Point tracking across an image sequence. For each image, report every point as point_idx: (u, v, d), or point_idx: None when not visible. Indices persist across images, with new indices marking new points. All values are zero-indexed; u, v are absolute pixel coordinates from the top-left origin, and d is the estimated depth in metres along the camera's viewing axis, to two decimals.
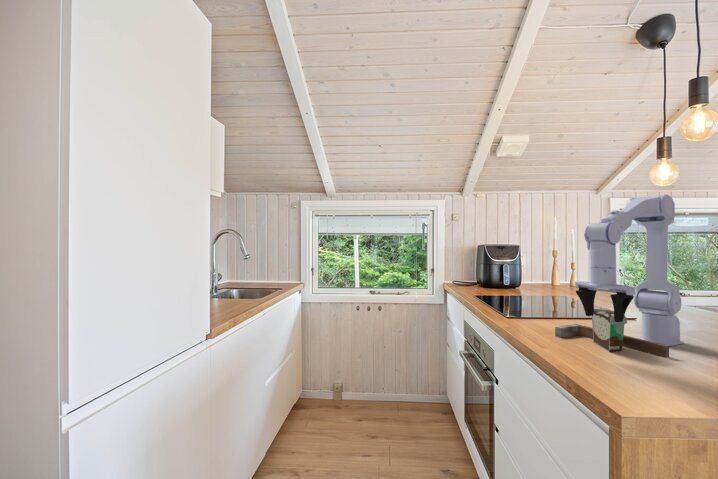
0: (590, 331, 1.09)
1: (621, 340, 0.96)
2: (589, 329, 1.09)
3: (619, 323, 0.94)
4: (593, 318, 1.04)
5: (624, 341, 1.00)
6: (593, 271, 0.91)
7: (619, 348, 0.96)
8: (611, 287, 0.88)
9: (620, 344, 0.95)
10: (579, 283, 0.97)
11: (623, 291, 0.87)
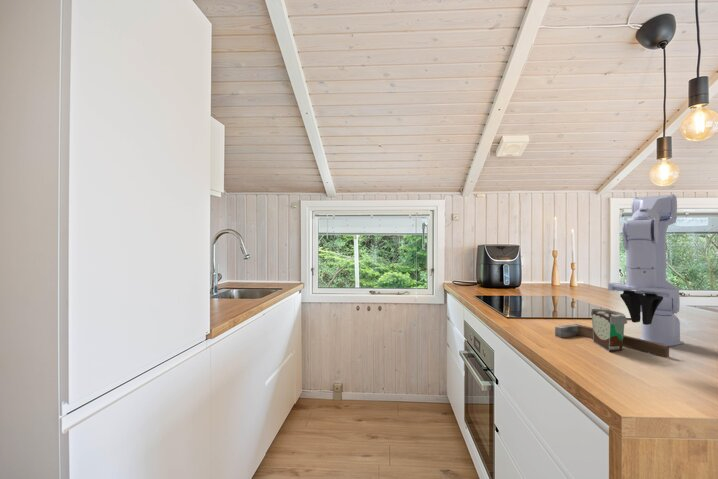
0: (590, 331, 1.09)
1: (621, 340, 0.96)
2: (589, 329, 1.09)
3: (619, 323, 0.94)
4: (593, 318, 1.04)
5: (624, 341, 1.00)
6: (630, 272, 0.85)
7: (619, 348, 0.96)
8: (652, 289, 0.81)
9: (620, 344, 0.95)
10: (613, 285, 0.90)
11: (665, 294, 0.80)
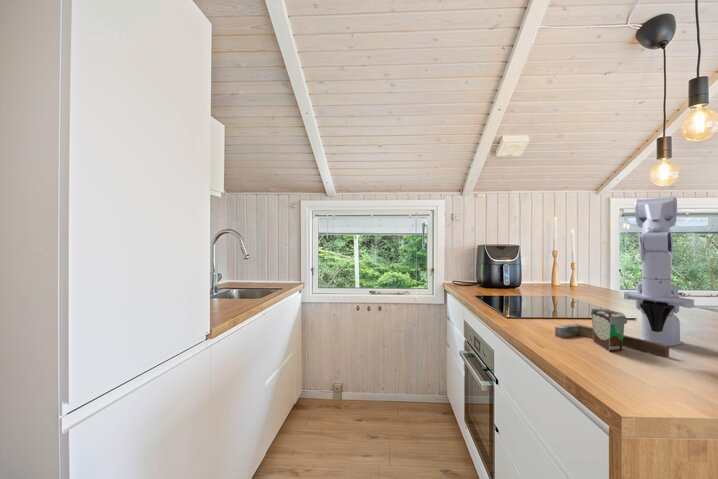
0: (590, 331, 1.09)
1: (621, 340, 0.96)
2: (589, 329, 1.09)
3: (619, 323, 0.94)
4: (593, 318, 1.04)
5: (624, 341, 1.00)
6: (646, 282, 0.89)
7: (619, 348, 0.96)
8: (667, 299, 0.85)
9: (620, 344, 0.95)
10: (629, 294, 0.94)
11: (680, 303, 0.84)
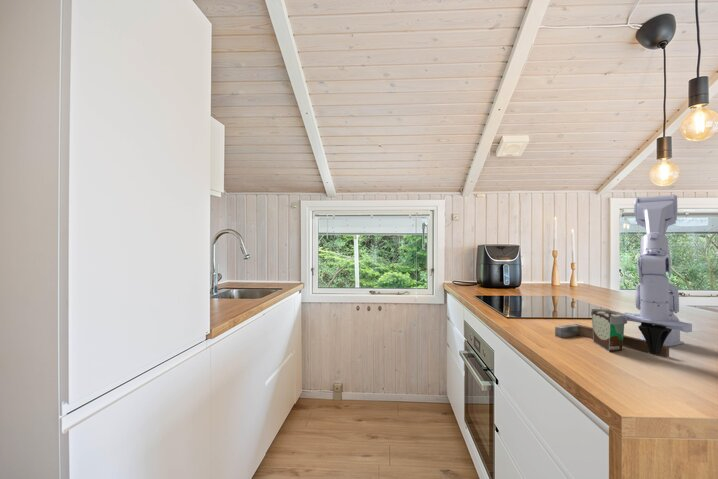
0: (590, 331, 1.09)
1: (621, 340, 0.96)
2: (589, 329, 1.09)
3: (619, 323, 0.94)
4: (593, 318, 1.04)
5: (624, 341, 1.00)
6: (645, 305, 0.89)
7: (619, 348, 0.96)
8: (665, 323, 0.86)
9: (620, 344, 0.95)
10: (627, 315, 0.94)
11: (678, 327, 0.85)
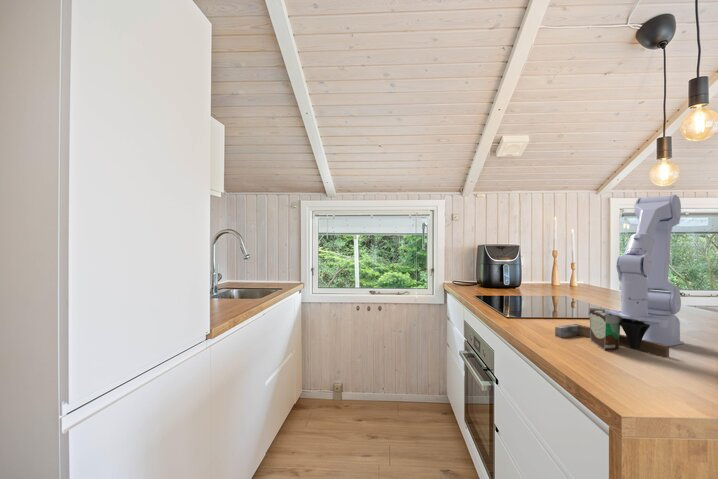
0: None
1: (617, 339, 0.97)
2: (589, 329, 1.09)
3: (614, 322, 0.95)
4: (590, 317, 1.06)
5: (624, 341, 1.00)
6: (625, 302, 0.94)
7: (615, 347, 0.97)
8: (644, 319, 0.90)
9: (615, 342, 0.96)
10: (609, 312, 0.99)
11: (656, 323, 0.89)
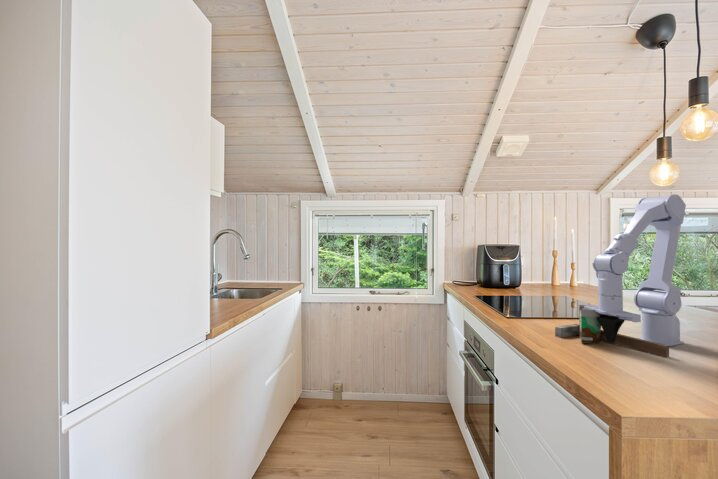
0: None
1: (595, 332, 1.02)
2: None
3: (590, 315, 1.01)
4: (579, 313, 1.11)
5: (624, 341, 1.00)
6: (601, 298, 0.99)
7: (592, 340, 1.02)
8: (618, 314, 0.96)
9: (593, 336, 1.02)
10: (588, 308, 1.05)
11: (629, 318, 0.95)
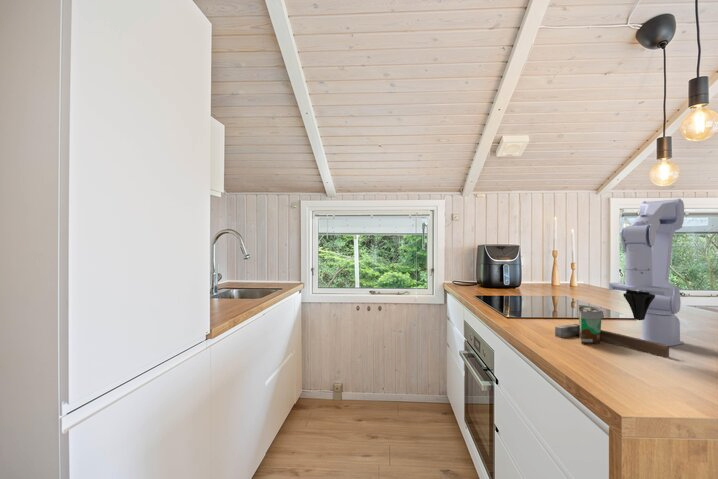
0: None
1: (595, 334, 1.02)
2: None
3: (589, 317, 1.01)
4: (579, 313, 1.11)
5: (624, 341, 1.00)
6: (629, 273, 0.93)
7: (592, 341, 1.02)
8: (648, 289, 0.89)
9: (593, 337, 1.02)
10: (613, 285, 0.98)
11: (660, 293, 0.88)
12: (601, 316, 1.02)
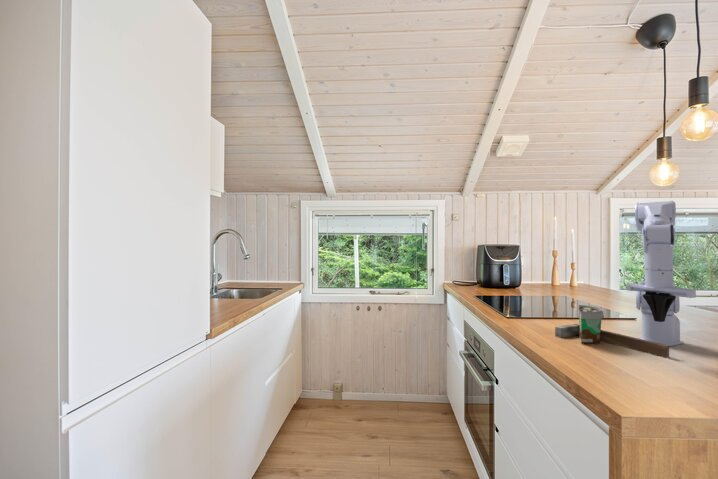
0: None
1: (595, 334, 1.02)
2: None
3: (589, 317, 1.01)
4: (579, 313, 1.11)
5: (624, 341, 1.00)
6: (649, 273, 0.91)
7: (592, 341, 1.02)
8: (670, 290, 0.87)
9: (593, 337, 1.02)
10: (632, 285, 0.96)
11: (682, 294, 0.86)
12: (601, 316, 1.02)
